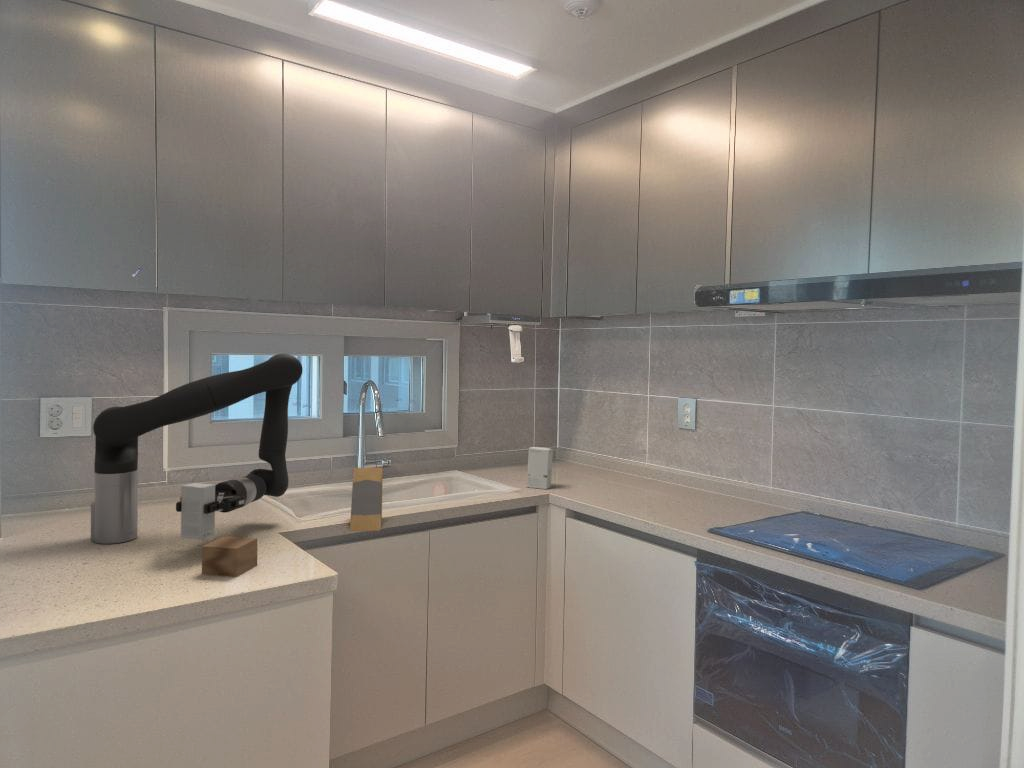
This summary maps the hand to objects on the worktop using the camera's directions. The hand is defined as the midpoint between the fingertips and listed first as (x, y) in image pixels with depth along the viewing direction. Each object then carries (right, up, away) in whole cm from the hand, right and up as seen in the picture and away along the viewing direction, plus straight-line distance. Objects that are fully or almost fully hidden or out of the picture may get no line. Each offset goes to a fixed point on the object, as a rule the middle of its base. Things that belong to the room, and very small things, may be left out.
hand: (191, 508), depth 145 cm
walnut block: (+11, -12, -6) cm, 18 cm away
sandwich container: (+31, -12, +36) cm, 49 cm away
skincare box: (0, -7, +3) cm, 8 cm away
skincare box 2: (+83, -11, +95) cm, 126 cm away
